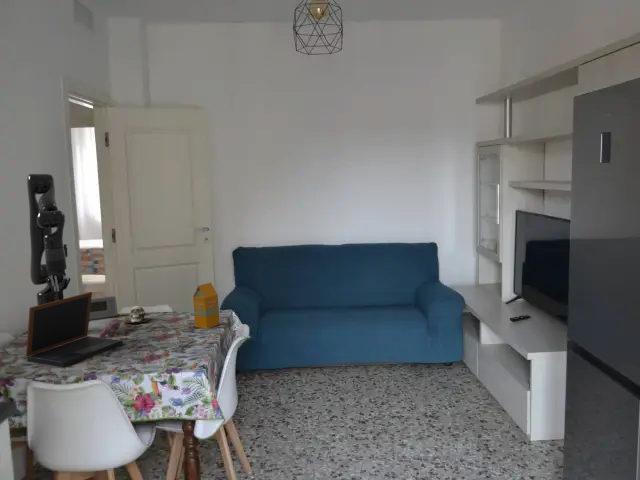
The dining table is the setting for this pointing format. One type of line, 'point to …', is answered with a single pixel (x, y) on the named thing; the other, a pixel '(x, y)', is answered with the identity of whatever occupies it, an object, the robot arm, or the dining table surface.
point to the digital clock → (103, 307)
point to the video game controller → (110, 329)
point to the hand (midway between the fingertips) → (60, 299)
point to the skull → (137, 315)
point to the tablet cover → (58, 323)
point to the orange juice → (206, 306)
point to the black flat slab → (74, 351)
